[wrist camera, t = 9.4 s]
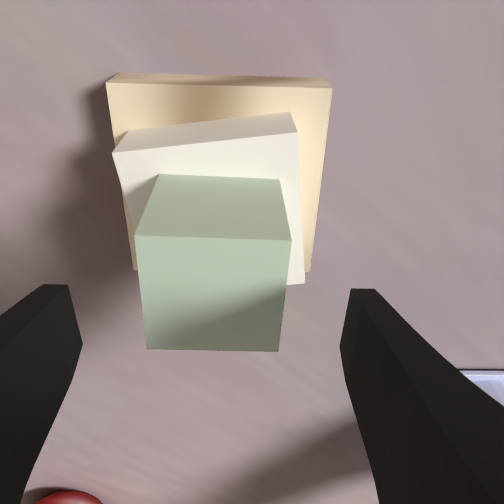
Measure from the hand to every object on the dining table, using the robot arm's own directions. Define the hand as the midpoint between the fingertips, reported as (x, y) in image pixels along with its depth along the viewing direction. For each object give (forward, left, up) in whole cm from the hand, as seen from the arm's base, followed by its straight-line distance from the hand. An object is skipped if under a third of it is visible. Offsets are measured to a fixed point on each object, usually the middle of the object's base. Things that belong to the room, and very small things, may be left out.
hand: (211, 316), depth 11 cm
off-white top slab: (0, 0, -7) cm, 7 cm away
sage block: (0, 0, -5) cm, 5 cm away
